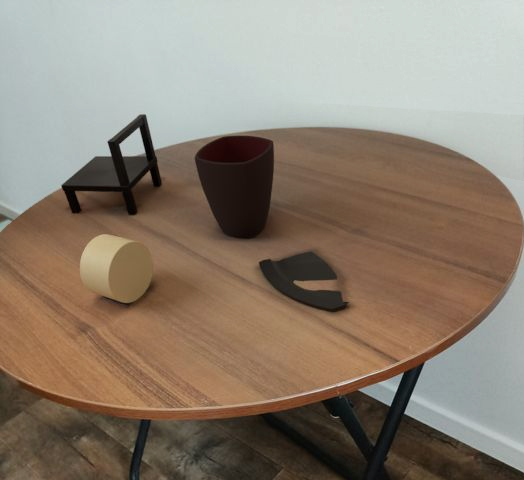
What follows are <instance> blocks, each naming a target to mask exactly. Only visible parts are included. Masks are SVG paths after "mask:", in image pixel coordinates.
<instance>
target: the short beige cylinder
mask: <svg viewBox="0 0 524 480" xmlns="http://www.w3.org/2000/svg"><path fill="white" fill-rule="evenodd" d="M153 273H154V261H153V257H152V253H151V251H150V250H149V248H148V247H147V246H146V245H145V244H144V243H142V242H140V241H137V240H133V239H129V238H125V237H120V236H117V235H114V234H113V235H112V234H109V233H103V234H99V235H97V236H95V237H93V238H92V239H91V240H90V241H89V242H88V243H87V244H86V246H85V248H84V249H83V252H82V254H81V257H80V261H79V275H80V278H81V281H82V283H83V285H84V287H85V288H86V289H87V290H88V291H89V292H91V293H93V294H95V295H99V296H100V299H103V300H105V301H109V302H112V303H114V304H118V305H121V306H124V307H127V308H128V307H130V306H131V305H132V304H134V303H135V302H137V300H139V299H140V298H141V297H142V296H143V295H144V294H146V293H147V292H149V290H151V287H150V284H151V281H152V279H153Z"/></svg>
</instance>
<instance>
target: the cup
mask: <svg viewBox="0 0 524 480" xmlns="http://www.w3.org/2000/svg"><path fill="white" fill-rule="evenodd" d="M194 163H195V166H196V171H197V172H196V173H197V175H198V178H199V182H200V185H201V187H202V190H203V193H204V196H205V199H206V200H207V204H208V206H209V208H210V211H211V213H212V215H213V217H214V219H215V221H216V223H217V224H218V227H219V228H220V230H221V232H222V233H223V234H225V235H226V236H229V237H232V238H233V237H234V238H238V239H252V238H254V237H256V236H257V235H258V234H260V233H261V232H262V231H263V230H264V229H265V227H266V225H267V221H268V217H269V213H270V208H271V202H272V201H271V200H272V192H273V191H272V190H273V184H274V183H273V182H274V173H275V171H274V170H275V145H274V141H273V140H272V139H269V138H265V137H262V136H253V135H224V136H221V137H218V138H216V139H214V140H212V141H210V142H208V143H207V144H205V145H203V146H201V148H199V150H198V151H197V152H196V153H195V155H194Z"/></svg>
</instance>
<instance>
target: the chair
mask: <svg viewBox="0 0 524 480" xmlns="http://www.w3.org/2000/svg"><path fill="white" fill-rule="evenodd" d="M138 129H139V133H140V136H141V141H142V145H143V148H144V153H145V156H144V155H143V156H141V155H138V156H137V155H136V156H135V155H134V156H133V155H124V156H123V152H122V150H121V149H122V148H121V147H120V145H121V144H122V143H123V142H124V141H125V140H126V139H128V138H129V137H130V136H131V135H132V134H133V133H134V132H135V131H137V130H138ZM107 145H108V149H109V152H110V156H106V155H105V156H104V155H103V156H101V155H100V156H99V155H96V156H94V157H93V158H92V159H90V160H89V161H88V162H87V163H85V165H84V166H82V167H81V168H80V169H78V171H76V172H75V173H74V174H73V175H71V177H69V178H68V179H67V180H66V181H64V182H63V183H62V184H61V185H60V186H61V189H62V191H63V193H64V195H65V198H66V201H67V203H68V206H69V209H70V211H71V214H79V213H80V212H82V207H81V203H80V202H79V199H78V196H77V193H76V192H92V193H93V192H96V193H97V192H99V193H100V192H101V193H122V198H123V200H124V204H125V207H126V210H127V211H126V212H127V214H128V215H129V216H136V214H137V213H138V212H139V211H138V207H137V203H136V200H135V196H134V192H133V190H132V189H134V187H135V186H136V185H137V184H138V183H139V182H140V181H141V180H142V179H143V178H144V177H145V176H146V175H147V174H148V173H150V177H151V182H152V185H153V187H156V188H159V187H161V186H162V185H163V181H162V177H161V173H160V168H159V165H158V164H159V163H158V158H157V156H156V152H155V148H154V143H153V139H152V135H151V130H150V126H149V123H148V118H147V114H145V113H144V114H140V113H139V114H138V115H137V116H136V118H134V119H133V120H132V121H131V122H129V123H128V124H127V125H126V126H124V127H123V128H122V129H121V130H119V132H117V133H116V134H115V135H114V136H113V137H111V138H110V139H108V140H107Z"/></svg>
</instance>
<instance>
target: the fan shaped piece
mask: <svg viewBox="0 0 524 480" xmlns="http://www.w3.org/2000/svg"><path fill="white" fill-rule="evenodd" d="M258 265H259V268H260V270H261V273H262V275H263V276H264V278H265V279H266V281H267V282H268V283H269V284H270V286H272V287H273V288H274V289H275V290H276V291H278V292H279V293H280V294H282V295H284V296H285V297H287V298H288V299H291V300H293V301H294V302H296V303H299V304H302V305H304V306H307V307H310V308H314V309H317V310H320V311H326V312H328V313H329V312H330V313H337V312H339V311H342V310H345V309H346V307H347V305H348V304H350V301H343V297H342V292H341V291H340V290H331V289H317V290H315V289H314V290H313V289H308V288H303V287H301V286H299V285H297V284H295V281H298V282H313V281H315V282H316V281H337V280H338V276H337V274H336V272H334V270H333V269H332V268H331V267H330V266H329V264H328V262H326V261H325V260H324V259H322V258H321V257H319V255H317V254H316V253H315V252H313V251H305V252H302V253H297V254H294V255H292V256H289V257H284V258H282V259H280V260H273V259H271V258H266V259H262V260H260V261H259V262H258Z"/></svg>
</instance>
